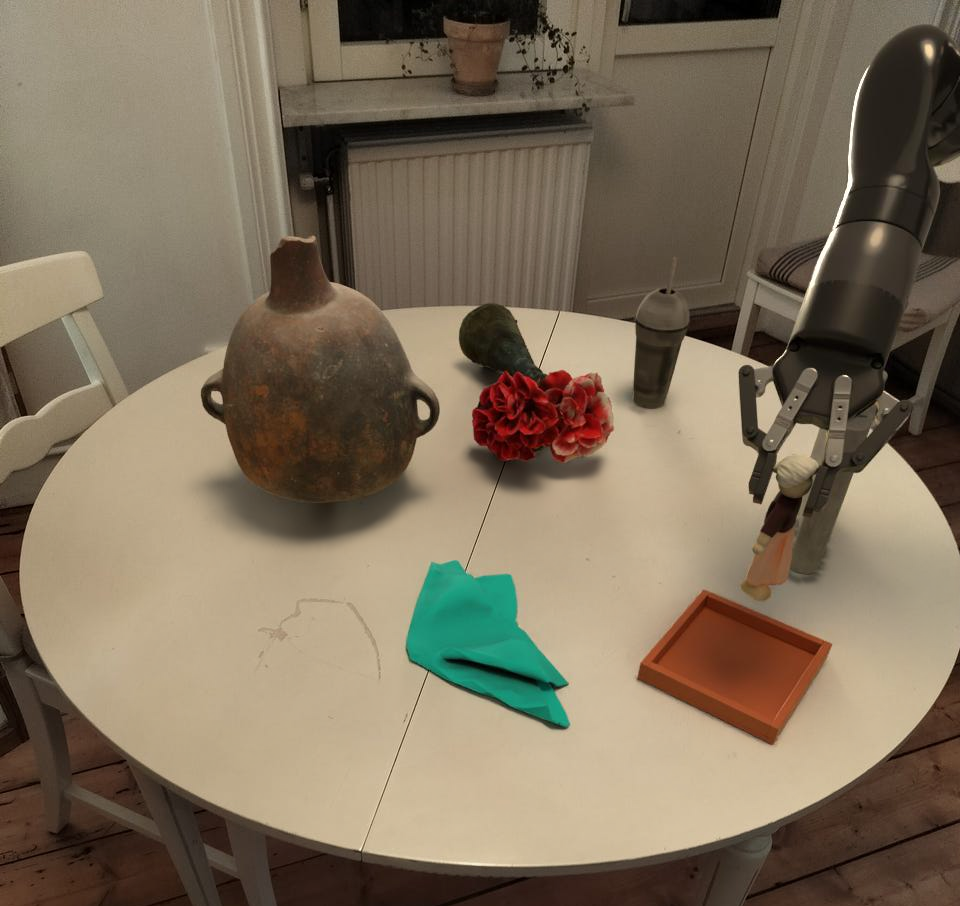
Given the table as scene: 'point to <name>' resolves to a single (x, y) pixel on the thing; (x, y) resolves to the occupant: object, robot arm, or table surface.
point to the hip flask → (821, 525)
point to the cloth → (482, 641)
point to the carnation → (530, 395)
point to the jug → (317, 387)
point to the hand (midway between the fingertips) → (782, 507)
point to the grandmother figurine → (779, 527)
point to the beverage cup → (658, 343)
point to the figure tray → (735, 664)
